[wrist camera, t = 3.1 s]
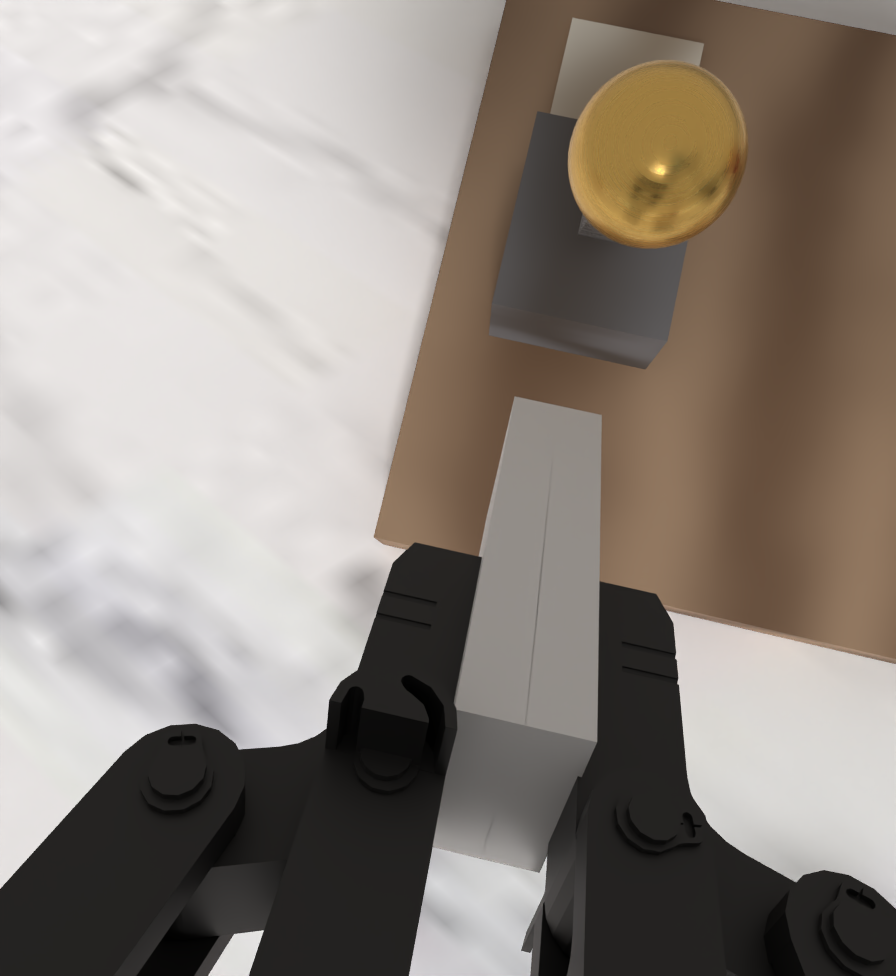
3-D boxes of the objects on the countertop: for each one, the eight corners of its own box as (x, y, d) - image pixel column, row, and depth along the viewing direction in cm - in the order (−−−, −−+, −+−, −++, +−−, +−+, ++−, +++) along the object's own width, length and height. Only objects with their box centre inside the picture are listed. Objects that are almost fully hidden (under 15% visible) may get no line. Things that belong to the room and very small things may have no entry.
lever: (669, 173, 21) (797, 55, 11) (641, 278, 22) (737, 261, 12) (566, 152, 21) (598, 16, 11) (542, 257, 22) (551, 222, 12)
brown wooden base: (1133, 149, 29) (1298, 37, 23) (1065, 703, 26) (1232, 732, 20) (510, 25, 30) (521, -110, 24) (383, 544, 27) (362, 529, 21)
